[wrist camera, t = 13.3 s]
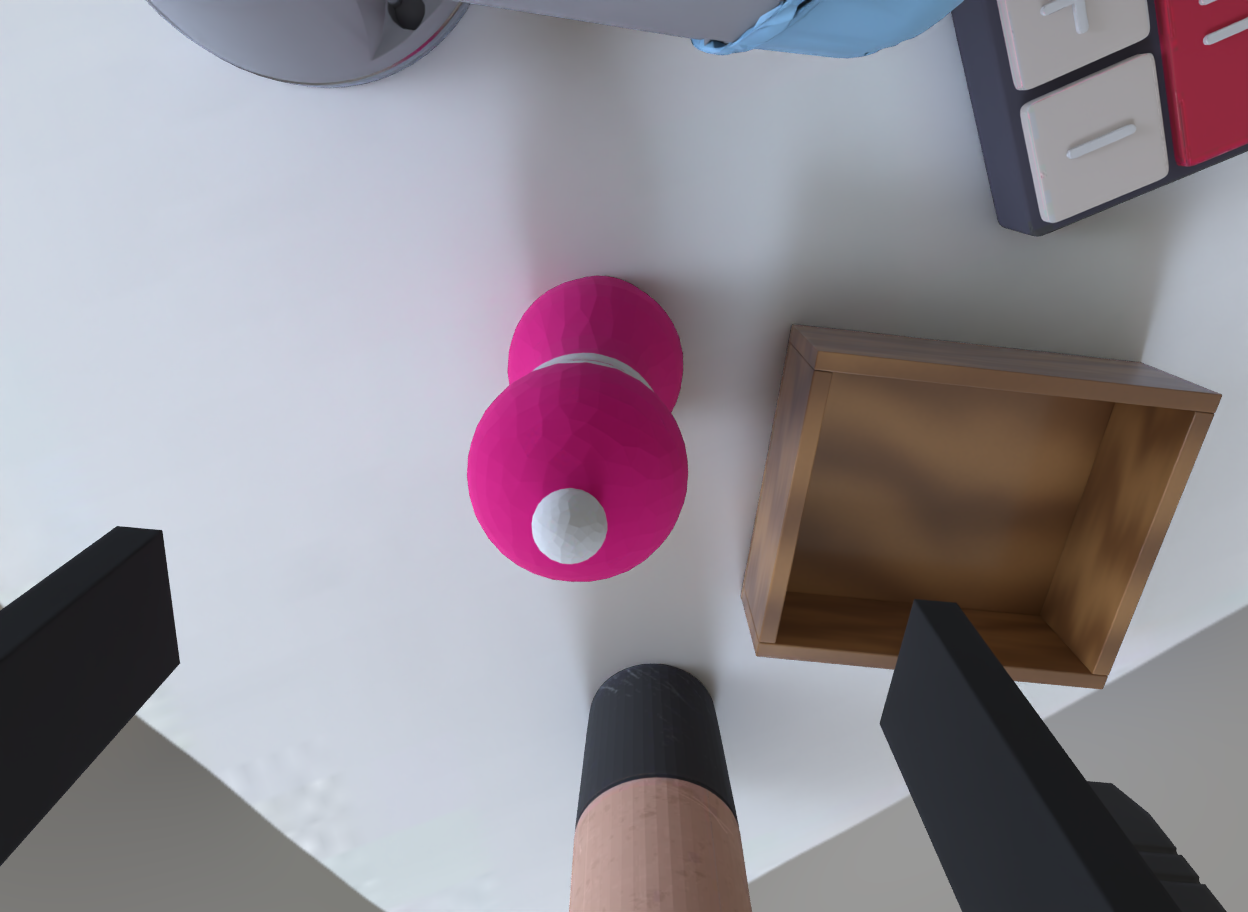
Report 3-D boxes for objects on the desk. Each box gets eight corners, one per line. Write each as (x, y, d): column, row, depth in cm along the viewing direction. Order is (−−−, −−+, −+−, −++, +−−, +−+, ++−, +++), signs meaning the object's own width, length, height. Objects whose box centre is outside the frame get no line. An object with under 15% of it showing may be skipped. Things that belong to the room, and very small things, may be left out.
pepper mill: (519, 263, 35) (389, 384, 16) (680, 265, 35) (739, 389, 16) (525, 415, 37) (418, 675, 19) (674, 418, 37) (719, 679, 18)
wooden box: (791, 323, 35) (818, 350, 31) (1141, 362, 36) (1223, 394, 31) (740, 596, 41) (755, 657, 36) (1046, 626, 41) (1103, 690, 36)
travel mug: (744, 732, 44) (828, 1156, 25) (631, 787, 45) (631, 1225, 27) (675, 636, 42) (711, 1024, 23) (558, 697, 43) (503, 1107, 24)
